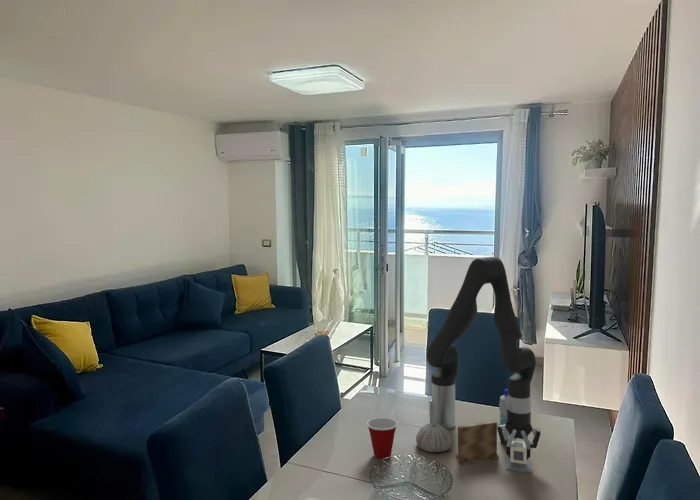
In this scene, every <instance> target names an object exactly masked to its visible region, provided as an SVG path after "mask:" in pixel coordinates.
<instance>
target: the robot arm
mask: <svg viewBox="0 0 700 500" xmlns="http://www.w3.org/2000/svg"><path fill="white" fill-rule="evenodd" d="M486 284H487V285H488V284H491V287H492V290H493V292H494V309H493V319H494V323H495V326H496V330H497V332H498V335H499V338H500V339H499V340H500V349H501V350H500V351H501V359H502V363H503V365H504V367H505V369H507V370H508V371H509V372H512V373H514V374H513V375H511V376H509V378H508V380H507V389H508V396H507V422H506V424H505V425H500V423H497V434H498V436H499V441H500V444H501V445H505V447H506V456H508V457H510V445H511V443H512V441H513V439H514V438H517V439H520V440H523V442H525V444H526V448H527V460H528V459H530V458H531V451H532V449H537V446H538V443H539V440H540V437H541V435H542V434H541V430H540V428H534V427H533V426H532V423H531V422H532V415H531V414H532V401H531V400H532V399H531V382H532V380H533V377H534V372H535V368H536V364H537V363H536V361H537V359H536V356H535V353H534V352H533V350H532V349H531V348H530V347H525V346H524V347H518V348H517V341H519V340H521V339H522V338H523V337H522V331H521V328H520V325H519V323H518V320H517V316H516V314H515V311H514V307H513V303H512V299H511V293H510V288H509V283H508V276H507V273H506V268H505V265H504V262H503V261H502V260H501V259H500V258H499V257H497V256H483V257H477V258H475V259H473V260H471V263H470V264H469V266H468V268H467V271H466V274H465V277H464V280H463V281H462V284H461V287H460V290H459V291H458V294H457V296H456V297H455V300H454V302H453V303H452V305H451V307H450V309H449V311H448V313H447V316H446V318H445V320H443V321H444V322H443V323H442V325H441V328H440V329H439V331H438V333H437V334H436V336H435V337H434V339H432V342H431V343H430V344H429V346H428V348H427V350H426V360H427V363H428V364H429V366H431V367H433V368H437V369H436V370H435V371H434V372H433V373H432V374H431V399H430V400H429V424H439V425H441V426H442V427H444V428H445V429H446V430H449V429H452V428H454V427H455V426H456V378H457V376H458V364H459V363H458V362H459V361H458V360H459V356H458V355H459V354H458V353H459V352H458V349H457V347H456V345H455V344H454V343H456V341H457V340H458V339H460V338H461V336H462V335H464V334H465V333H466V332H467V331H468V330H469V328H470V327H471V326H472V324H473V322H474V320H475V318H476V317H477V314H478V304H477V297H478V295H479V293H480V290H481V289H482V288H483V286H484V285H486ZM505 428H506V429H507V431H508V432H509V436H508V439H507V440H506V439H504V435H503V432H504V429H505ZM531 433H532V434H533V439H532V441H531V442H530V439H529V435H530V434H531Z"/></svg>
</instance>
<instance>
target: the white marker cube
mask: <svg viewBox="0 0 700 500" xmlns="http://www.w3.org/2000/svg"><path fill="white" fill-rule="evenodd" d="M510 462H515V463H522V464H527V448H526V444H525V442H524V441H518V440H517V441H512V443H511V445H510Z"/></svg>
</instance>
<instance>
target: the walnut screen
mask: <svg viewBox="0 0 700 500" xmlns="http://www.w3.org/2000/svg"><path fill="white" fill-rule="evenodd" d="M497 425H498V422H497V421H496V420H489V421H483V422H476V423H475V422H474V423H469V424H463V425H457V453H456V454H455V455H456V456H455V457H456V458H457V460H458V462H459V463H461V464H462V465H467V464H471V463H470V462H471V461H472V460H478V459H479V460H480V459H486V458H490V459H491V460H498V459H499V457H500V456H499V454H498V430H497Z"/></svg>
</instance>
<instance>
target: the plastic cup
mask: <svg viewBox="0 0 700 500" xmlns="http://www.w3.org/2000/svg"><path fill="white" fill-rule="evenodd" d="M397 426H398V422H397V421H396V420H394V419H392V418H386V417H375V418H371V419H370V420H369V419H368V421H367V422H366V427H368V431H369V434H370V440H371V447H372V451H373V455H374V458H376V459H378V460H384V459H383V458H386V457H389V456H390V457H391V456H392V451H393V444H394V438H395V433H396V430H397ZM390 457H389V458H390Z"/></svg>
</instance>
